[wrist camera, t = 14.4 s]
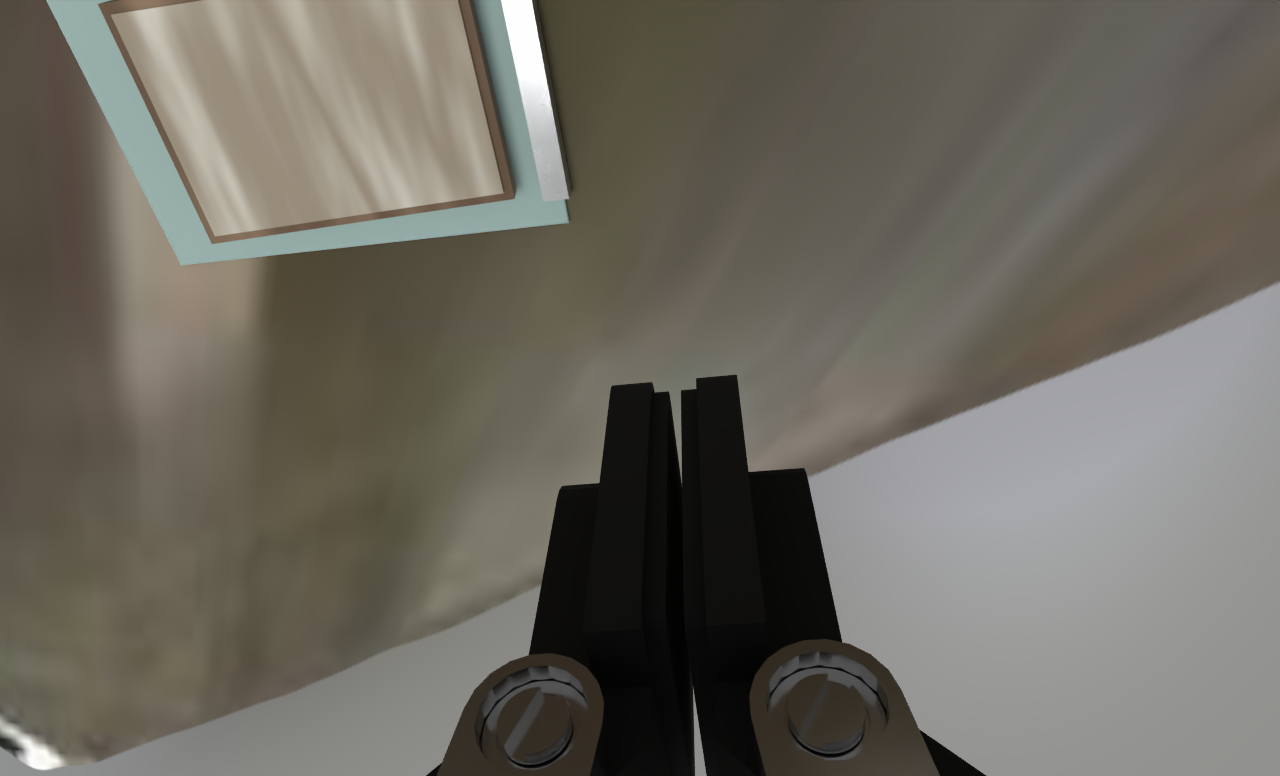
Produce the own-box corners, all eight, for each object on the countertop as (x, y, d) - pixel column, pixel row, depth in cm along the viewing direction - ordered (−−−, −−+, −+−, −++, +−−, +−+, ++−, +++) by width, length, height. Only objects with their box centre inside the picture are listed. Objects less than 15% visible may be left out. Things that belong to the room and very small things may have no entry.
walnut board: (456, -52, 29) (94, 4, 30) (514, 200, 35) (210, 245, 35) (461, -55, 31) (113, -1, 31) (516, 189, 36) (222, 233, 36)
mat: (503, -125, 30) (501, -124, 29) (569, 220, 38) (568, 222, 37) (26, -49, 32) (22, -48, 32) (184, 262, 40) (181, 265, 39)
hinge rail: (521, -81, 30) (516, -78, 29) (571, 189, 37) (569, 198, 36) (491, -76, 31) (485, -74, 30) (546, 192, 37) (543, 201, 36)
